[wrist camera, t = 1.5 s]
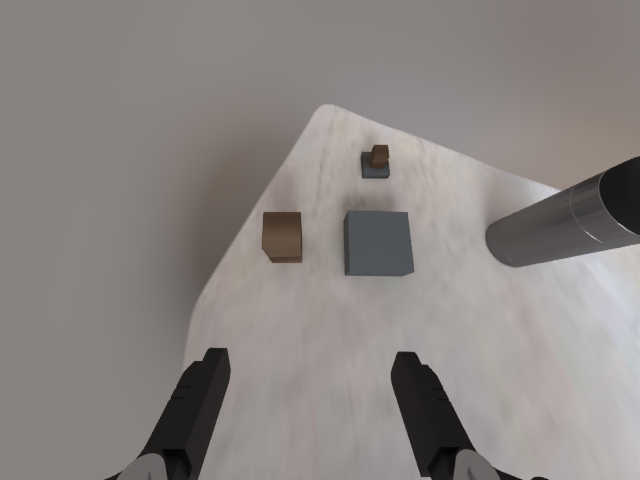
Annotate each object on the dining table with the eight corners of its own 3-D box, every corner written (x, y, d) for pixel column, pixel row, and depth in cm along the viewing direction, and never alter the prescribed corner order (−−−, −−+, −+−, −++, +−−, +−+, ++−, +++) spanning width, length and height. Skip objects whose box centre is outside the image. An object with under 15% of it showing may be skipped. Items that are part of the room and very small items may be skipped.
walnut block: (301, 262, 39) (300, 247, 30) (272, 263, 39) (261, 247, 29) (301, 235, 41) (300, 212, 31) (273, 235, 40) (263, 212, 31)
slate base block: (401, 276, 40) (414, 272, 35) (344, 275, 39) (350, 271, 34) (396, 223, 43) (407, 212, 38) (343, 221, 42) (348, 210, 37)
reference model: (387, 178, 45) (397, 162, 40) (362, 178, 45) (369, 162, 40) (384, 156, 46) (393, 139, 42) (360, 156, 46) (366, 138, 41)
